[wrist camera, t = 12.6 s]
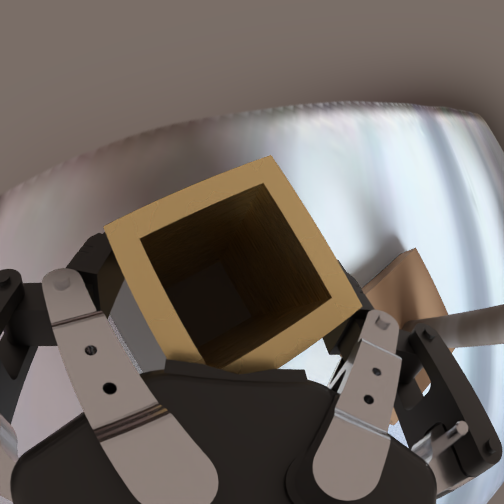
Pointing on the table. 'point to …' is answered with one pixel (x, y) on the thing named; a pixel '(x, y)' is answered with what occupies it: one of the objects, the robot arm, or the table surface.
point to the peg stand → (429, 309)
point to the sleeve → (236, 267)
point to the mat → (182, 314)
